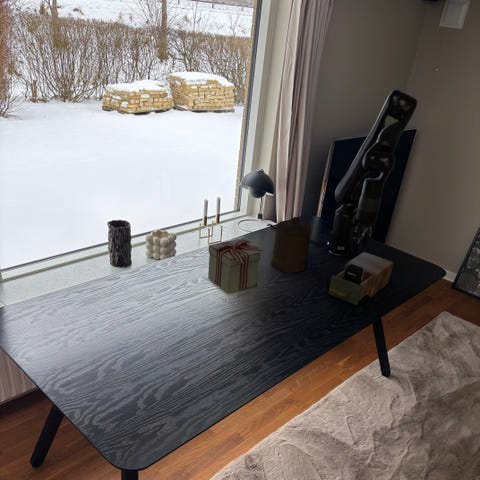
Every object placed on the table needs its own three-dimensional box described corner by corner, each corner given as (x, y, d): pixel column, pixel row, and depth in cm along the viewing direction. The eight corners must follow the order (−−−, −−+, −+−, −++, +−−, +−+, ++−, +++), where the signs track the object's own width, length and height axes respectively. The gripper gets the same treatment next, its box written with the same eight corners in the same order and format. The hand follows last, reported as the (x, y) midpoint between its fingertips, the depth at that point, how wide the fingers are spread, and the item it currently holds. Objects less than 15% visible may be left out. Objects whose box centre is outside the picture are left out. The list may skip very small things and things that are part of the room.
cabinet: (371, 296, 193) (376, 275, 188) (341, 285, 200) (345, 263, 195) (388, 282, 205) (394, 262, 199) (359, 272, 211) (363, 251, 206)
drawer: (349, 311, 180) (353, 292, 176) (320, 299, 187) (323, 281, 183) (374, 291, 195) (378, 273, 191) (346, 280, 202) (350, 263, 197)
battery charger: (339, 290, 192) (345, 264, 186) (344, 287, 194) (350, 261, 188) (355, 296, 188) (361, 270, 182) (360, 293, 191) (366, 267, 184)
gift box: (234, 298, 185) (237, 257, 176) (205, 279, 196) (206, 240, 187) (266, 286, 195) (270, 247, 186) (236, 269, 206) (239, 231, 197)
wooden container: (311, 264, 215) (318, 217, 204) (296, 276, 204) (303, 227, 193) (281, 255, 222) (287, 209, 210) (265, 266, 211) (270, 218, 199)
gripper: (368, 215, 168) (359, 257, 177) (386, 206, 178) (376, 246, 187) (349, 209, 172) (341, 250, 181) (368, 200, 182) (359, 240, 190)
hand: (359, 248), depth 184 cm, fingers open, 8 cm apart
